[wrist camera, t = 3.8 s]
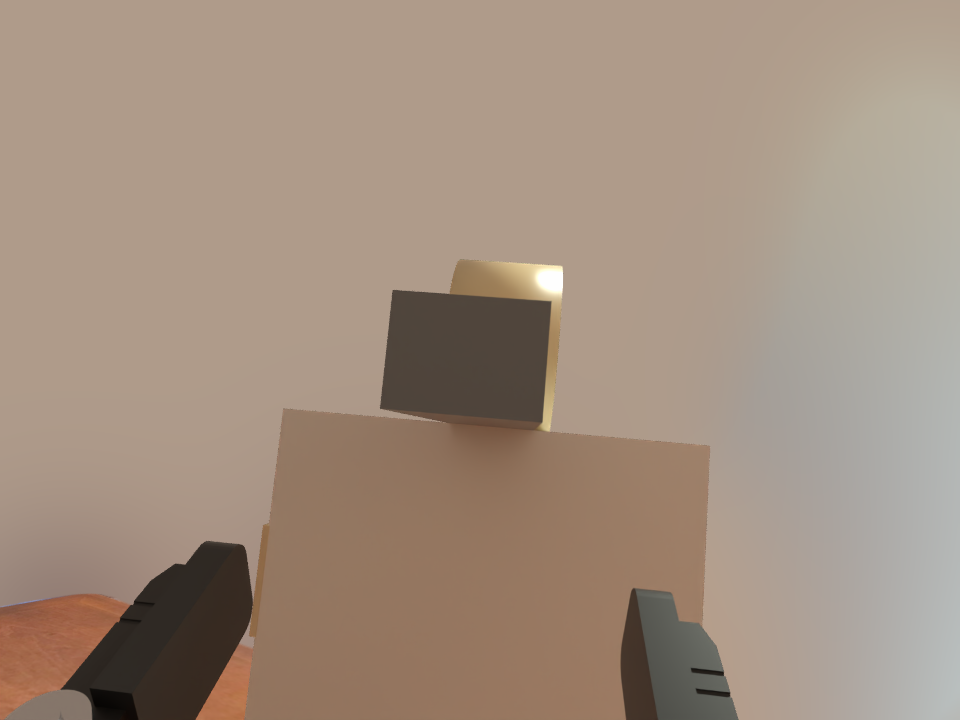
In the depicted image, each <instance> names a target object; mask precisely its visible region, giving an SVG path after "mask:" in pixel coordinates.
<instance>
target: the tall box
mask: <svg viewBox="0 0 960 720" xmlns="http://www.w3.org/2000/svg"><path fill="white" fill-rule="evenodd" d="M709 458H710V446H707V445H695V444H683V443H672V442H661V441H649V440H638V439H626V438H615V437H603V436H591V435H580V434H569V433H557V432H546V431H535V430H523V429H512V428H500V427H489V426H477V425H466V424H455V423H443V422H432V421H420V420H409V419H397V418H385V417H374V416H363V415H351V414H339V413H329V412H317V411H306V410H305V411H304V410H293V409H283V416H282V424H281V432H280V440H279V448H278V456H277V464H276V472H275V480H274V488H273V496H272V504H271V512H270V520H269V523H268V524H265V525H263V530H262V538H261V547H260V554H259V563H258V570H257V579H256V586H255V594H254V602H253V610H252V618H251V626H250V633H249V636H251V637H255V639H254V647H253V655H252V663H251V671H250V679H249V687H248V695H247V703H246V711H245V719H244V720H626V715H625V707H624V699H623V690H622V682H621V668H620V659H621V645H622V639H623V633H624V628H625V622H626V616H627V611H628V605H629V599H630V594H631V591H632V589H633V588H638V589H648V590H657V591H666V592H671V593H672V595H673V598H674V602H675V606H676V610H677V614H678V618H679V621H684V622H693V623H699V624H700V625H701V627H702V620H703V596H704V572H705V550H706V526H707V503H708V502H707V501H708V481H709Z"/></svg>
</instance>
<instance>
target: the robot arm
mask: <svg viewBox="0 0 960 720" xmlns="http://www.w3.org/2000/svg"><path fill="white" fill-rule="evenodd" d="M252 606H253V599H252V591H251V584H250V576H249V569H248V562H247V554H246V550H245V547H244V546H243V545H240V544H232V543H222V542H212V541H206V542H204V543H203V544H201V545H200V547H199V548H198V549H197V550H196V552H195V553H194V554H193V556H192V557H191V558H190V559H189V561H188V562H187V563H186V565H182V564H174V565H173V566H171V567H170V568H168V569H167V570H166V571H164V572H163V573H161V574H160V575H158V576H157V577H155V578H154V579H153V580H151V581H150V582H149V584H148V585H147V586H146V587H145V588H144V590H143V591H142V592H141V593H140V595H139V596H138V597H137V598H136V599H135V601H134V604H133V605H130V607H129V608H128V609H127V610H126V611H125V613H124V614H123V615H122V616H121V617H120V621H119V623H118V622H116V624H115V625H114V626H113V627H112V628H111V630H110V631H109V632H108V633H107V634H106V636H105V637H104V638H103V639H102V640H101V642H100V643H99V644H98V645H97V647H96V648H95V649H94V650H93V651H92V653H91V654H90V655H89V656H88V657H87V659H86V660H85V661H84V662H83V663H82V665H81V666H80V667H79V668H78V670H77V671H76V672H75V673H74V674H73V676H72V677H71V678H70V679H69V680H68V682H67V683H66V684H65V685H64V686H63V687H62V689H61V690H57V691H52V692H48V693H45V694H42V695H40V696H37V697H35V698H33V699H31V700H29V701H27V702H26V703H24V704H23V705H21V706H19V707H18V708H17V709H15V710H14V711H13V712H12V713H10V714H9V715H8V716H7V717H6V718H5V719H4V720H195V719H196V718H197V716H198V714H199V712H200V711H201V709H202V707H203V705H204V704H205V702H206V700H207V698H208V697H209V695H210V693H211V691H212V690H213V688H214V686H215V684H216V682H217V681H218V679H219V677H220V675H221V674H222V672H223V670H224V668H225V667H226V665H227V663H228V661H229V660H230V658H231V656H232V654H233V653H234V651H235V649H236V647H237V646H238V644H239V642H240V640H241V639H242V637H243V635H244V633H245V631H246V629H247V627H248V624H249V621H250V618H251V614H252ZM620 668H621V682H622V690H623V699H624V707H625V715H626V720H738V717H737V713H736V710H735V707H734V703H733V700H732V698H731V697H730V690H729V687H728V683H727V680H726V677H725V676H724V670H723V667H722V663H721V660H720V657H719V653H718V650H717V647H716V645H715V644H714V642H713V641H712V640H711V639H710V637H709V636H708V635H707V633H706V632H705V631H704V629H703V628H702V627H701V625H700V624H699V623H693V622H684V621H679V618H678V614H677V610H676V606H675V602H674V598H673V595H672V593H671V592H666V591H657V590H648V589H638V588H633V589H632V591H631V594H630V599H629V605H628V611H627V616H626V622H625V628H624V633H623V639H622V645H621V659H620Z"/></svg>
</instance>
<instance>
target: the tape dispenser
mask: <svg viewBox="0 0 960 720" xmlns="http://www.w3.org/2000/svg"><path fill="white" fill-rule="evenodd" d="M562 278H563V271H562V266H553V265H539V264H524V263H509V262H494V261H479V260H464V259H460V260H459V261H458V263H457V265H456V268H455V271H454V275H453V279H452V284H451V289H450V294H441V293H428V292H412V291H399V290H393V293H392V302H391V311H390V321H389V331H388V339H387V350H386V359H385V368H384V377H383V387H382V396H381V405H380V409H385V410H389V411H394V412H399V413H403V414H408V415H413V416H418V417H423V418H427V419H432V420H437V421H442V422H446V423H455V424H466V425H477V426H489V427H500V428H512V429H523V430H535V431H546V432H549V431H550V426H551V419H552V411H553V402H554V393H555V383H556V372H557V361H558V349H559V336H560V335H559V334H560V320H561V304H562V281H563V279H562Z"/></svg>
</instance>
